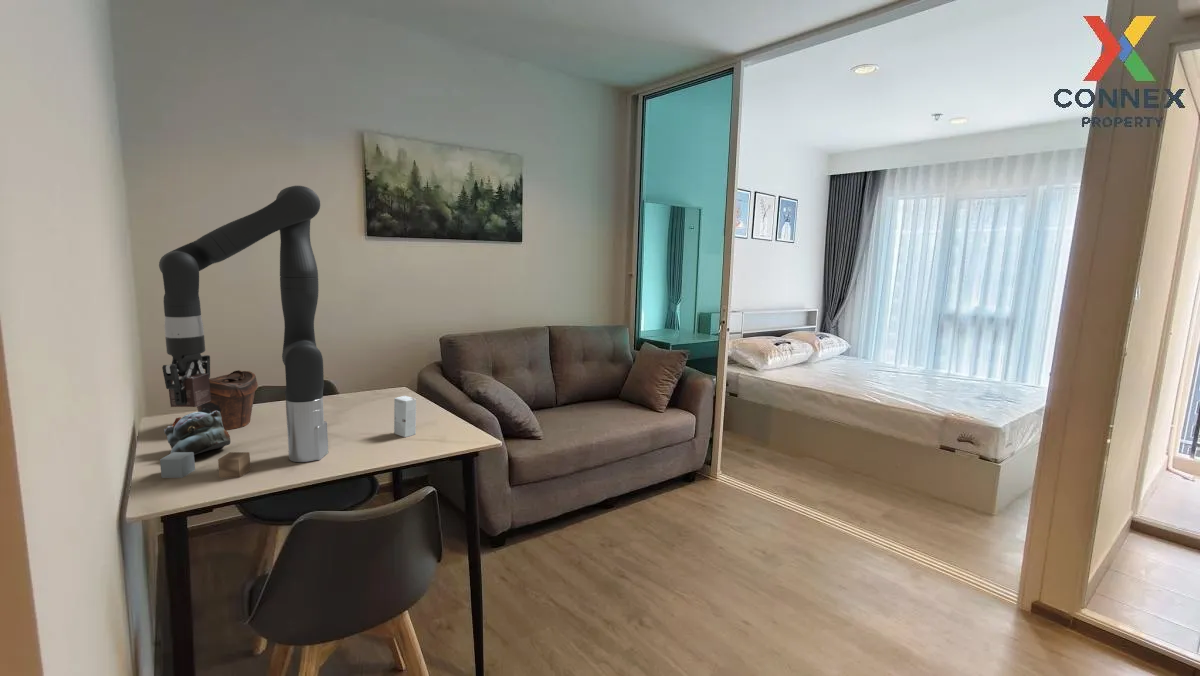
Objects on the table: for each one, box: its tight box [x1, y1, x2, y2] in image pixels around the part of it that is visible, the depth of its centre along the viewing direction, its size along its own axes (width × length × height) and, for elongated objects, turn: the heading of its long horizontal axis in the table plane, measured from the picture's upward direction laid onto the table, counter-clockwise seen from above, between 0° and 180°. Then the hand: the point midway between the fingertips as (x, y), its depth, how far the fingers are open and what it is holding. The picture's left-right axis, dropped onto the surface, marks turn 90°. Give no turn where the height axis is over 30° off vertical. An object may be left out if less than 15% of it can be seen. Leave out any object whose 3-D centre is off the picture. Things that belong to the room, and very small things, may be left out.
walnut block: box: [217, 451, 252, 479], centre depth 141 cm, size 5×5×5 cm
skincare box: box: [393, 395, 417, 438], centre depth 175 cm, size 6×4×12 cm
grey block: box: [159, 452, 196, 479], centre depth 140 cm, size 5×5×5 cm
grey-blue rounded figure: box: [163, 408, 231, 456], centre depth 154 cm, size 15×12×14 cm
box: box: [168, 373, 211, 408], centre depth 133 cm, size 6×6×7 cm
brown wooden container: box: [196, 369, 259, 431], centre depth 178 cm, size 18×20×18 cm
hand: (190, 400), depth 134 cm, fingers closed on box, 6 cm apart
